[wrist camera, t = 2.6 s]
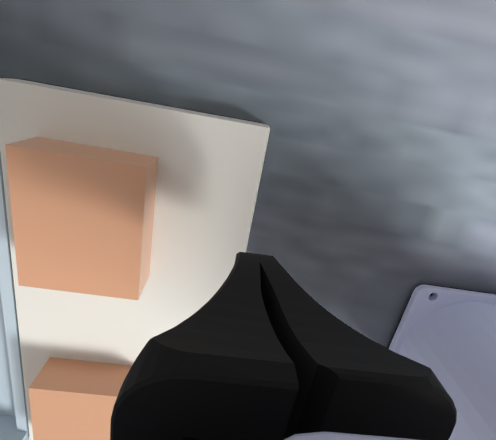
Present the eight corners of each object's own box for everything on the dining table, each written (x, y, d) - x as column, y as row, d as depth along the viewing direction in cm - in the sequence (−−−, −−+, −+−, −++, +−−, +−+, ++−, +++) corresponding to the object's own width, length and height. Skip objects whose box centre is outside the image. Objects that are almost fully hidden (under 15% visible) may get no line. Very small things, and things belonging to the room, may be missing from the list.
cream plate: (267, 124, 15) (270, 128, 14) (206, 441, 23) (204, 463, 22) (16, 78, 14) (-8, 77, 13) (43, 427, 22) (30, 450, 21)
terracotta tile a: (158, 156, 14) (146, 167, 12) (149, 276, 16) (138, 300, 14) (36, 136, 14) (5, 144, 12) (44, 262, 16) (18, 285, 14)
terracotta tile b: (142, 366, 18) (131, 398, 17) (137, 438, 21) (127, 472, 19) (49, 357, 18) (28, 388, 16) (54, 431, 20) (36, 466, 18)
